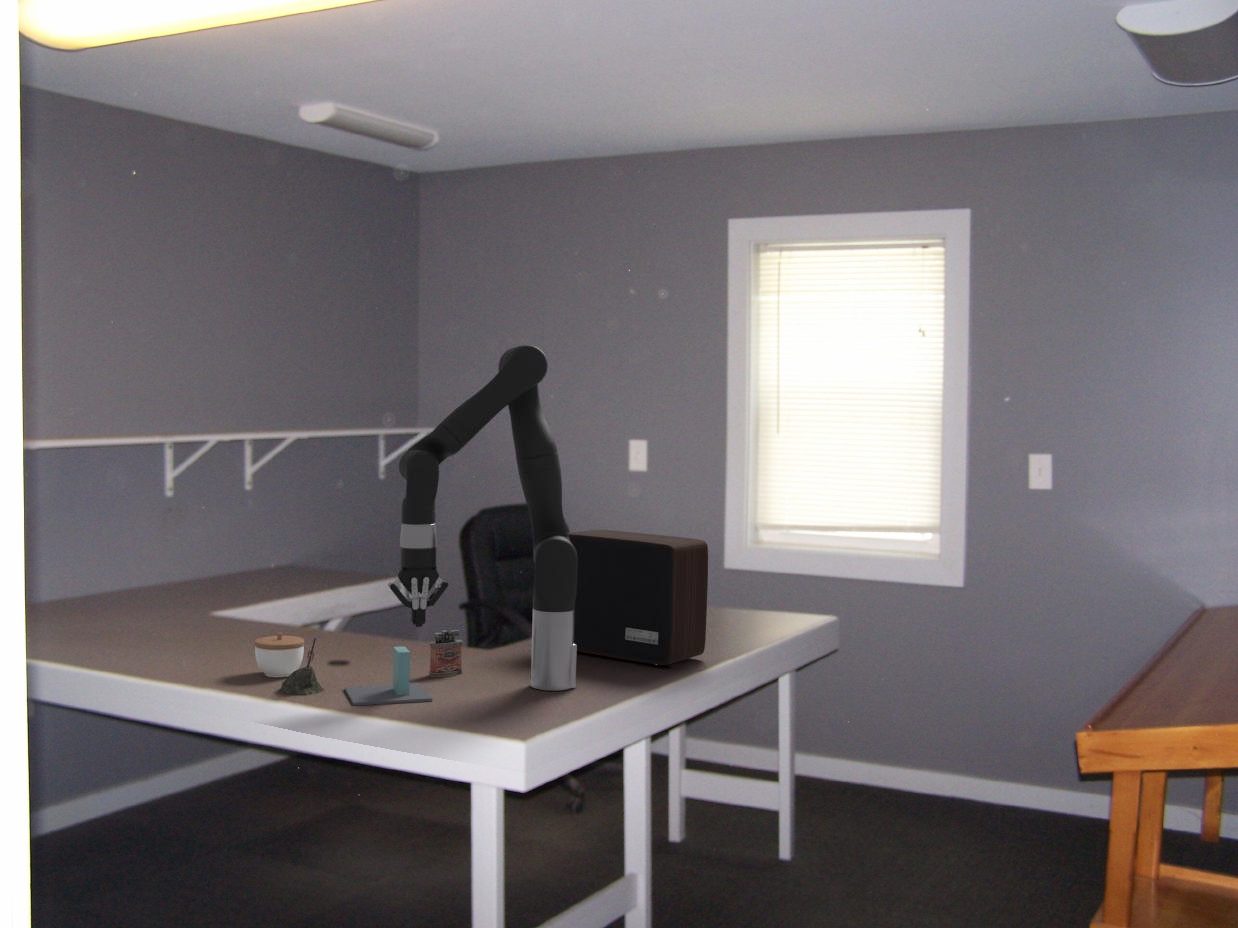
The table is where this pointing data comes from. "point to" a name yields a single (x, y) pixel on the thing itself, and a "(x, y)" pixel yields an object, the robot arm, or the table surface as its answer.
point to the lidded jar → (279, 654)
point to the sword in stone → (302, 680)
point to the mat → (385, 695)
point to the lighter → (446, 654)
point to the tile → (401, 670)
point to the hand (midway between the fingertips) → (418, 626)
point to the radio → (640, 596)
